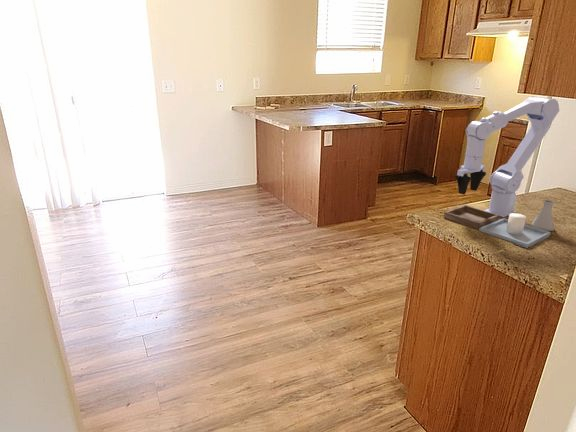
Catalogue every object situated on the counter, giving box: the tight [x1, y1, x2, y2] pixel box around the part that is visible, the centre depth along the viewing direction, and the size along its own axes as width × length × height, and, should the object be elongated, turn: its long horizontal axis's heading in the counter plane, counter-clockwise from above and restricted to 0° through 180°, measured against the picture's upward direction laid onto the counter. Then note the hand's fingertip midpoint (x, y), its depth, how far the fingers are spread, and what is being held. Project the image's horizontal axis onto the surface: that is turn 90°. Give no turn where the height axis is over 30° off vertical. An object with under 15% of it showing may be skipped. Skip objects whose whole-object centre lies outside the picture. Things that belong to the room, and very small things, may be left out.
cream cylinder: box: [506, 212, 527, 235], centre depth 139 cm, size 5×5×6 cm
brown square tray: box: [443, 204, 500, 230], centre depth 152 cm, size 14×14×2 cm
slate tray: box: [478, 217, 552, 249], centre depth 140 cm, size 16×16×2 cm
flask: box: [531, 199, 555, 232], centre depth 144 cm, size 7×7×10 cm
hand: (467, 191), depth 153 cm, fingers open, 7 cm apart
